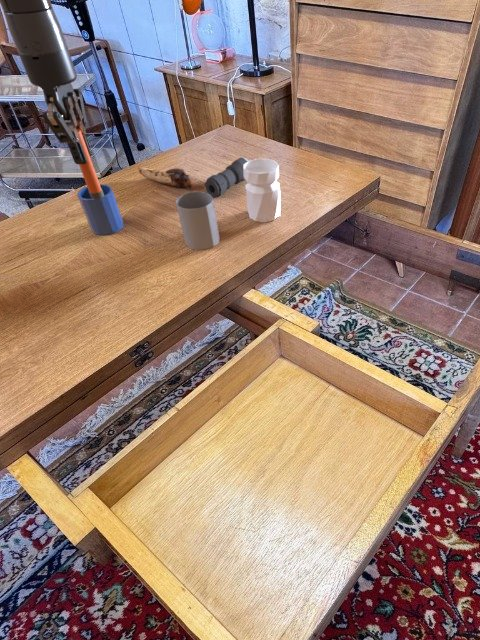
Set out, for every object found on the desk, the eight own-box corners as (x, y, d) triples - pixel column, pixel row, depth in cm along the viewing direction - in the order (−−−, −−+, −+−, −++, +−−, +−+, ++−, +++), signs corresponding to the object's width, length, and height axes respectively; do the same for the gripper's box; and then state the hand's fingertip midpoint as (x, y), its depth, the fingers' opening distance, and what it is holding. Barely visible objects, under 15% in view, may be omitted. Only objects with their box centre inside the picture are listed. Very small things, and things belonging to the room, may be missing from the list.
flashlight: (220, 201, 120) (216, 180, 116) (204, 196, 122) (201, 176, 118) (253, 178, 128) (251, 159, 124) (238, 174, 130) (235, 155, 126)
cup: (182, 235, 109) (172, 195, 101) (214, 228, 111) (207, 188, 103) (189, 253, 104) (180, 212, 96) (223, 245, 106) (216, 204, 98)
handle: (89, 199, 88) (64, 133, 79) (93, 193, 90) (68, 128, 81) (102, 199, 88) (78, 133, 79) (105, 193, 90) (82, 128, 81)
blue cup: (88, 235, 110) (73, 200, 103) (96, 219, 115) (82, 184, 108) (120, 234, 110) (107, 199, 103) (127, 218, 115) (115, 183, 108)
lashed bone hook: (204, 181, 129) (155, 169, 134) (202, 164, 125) (151, 152, 130) (185, 194, 123) (134, 180, 128) (182, 177, 120) (130, 163, 125)
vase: (279, 222, 112) (277, 174, 103) (246, 222, 113) (240, 173, 103) (282, 205, 118) (280, 158, 109) (250, 205, 118) (245, 158, 109)
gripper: (34, 35, 75) (75, 145, 88) (0, 58, 66) (51, 176, 79) (78, 35, 75) (112, 145, 88) (50, 57, 66) (93, 176, 79)
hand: (83, 159), depth 84 cm, fingers closed on handle, 2 cm apart
